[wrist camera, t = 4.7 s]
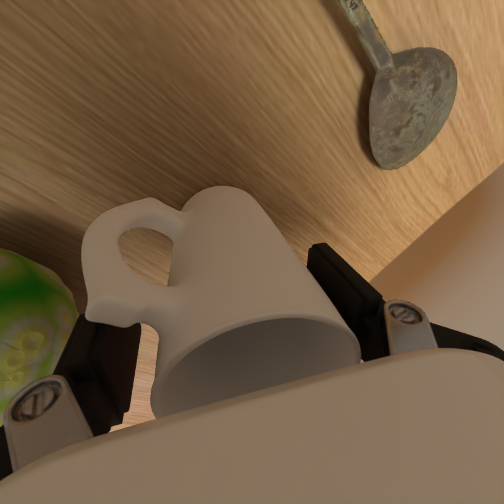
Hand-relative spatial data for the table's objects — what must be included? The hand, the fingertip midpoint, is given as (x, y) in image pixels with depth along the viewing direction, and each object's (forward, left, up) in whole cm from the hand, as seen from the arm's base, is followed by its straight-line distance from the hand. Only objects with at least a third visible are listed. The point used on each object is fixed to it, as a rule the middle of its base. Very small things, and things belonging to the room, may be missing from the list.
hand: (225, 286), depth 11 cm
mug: (0, 0, -8) cm, 8 cm away
